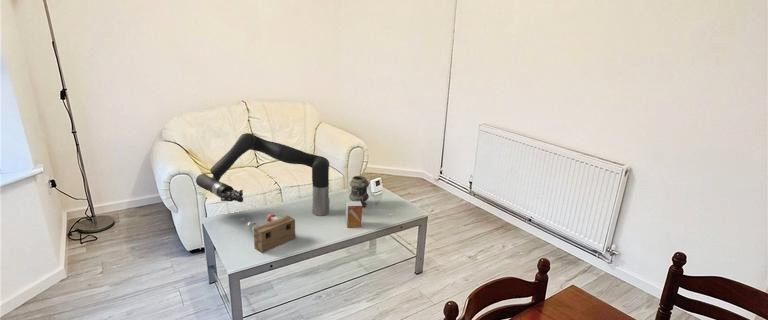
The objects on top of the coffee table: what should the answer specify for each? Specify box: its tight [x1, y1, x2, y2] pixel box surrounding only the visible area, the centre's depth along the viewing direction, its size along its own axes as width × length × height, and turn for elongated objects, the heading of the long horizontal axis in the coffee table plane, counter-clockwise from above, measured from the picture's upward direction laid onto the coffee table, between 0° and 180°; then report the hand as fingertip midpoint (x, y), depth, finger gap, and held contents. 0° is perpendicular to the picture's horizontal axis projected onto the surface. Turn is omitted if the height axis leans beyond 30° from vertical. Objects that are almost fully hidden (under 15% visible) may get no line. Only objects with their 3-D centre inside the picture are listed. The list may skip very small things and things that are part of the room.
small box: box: [345, 200, 363, 228], centre depth 230 cm, size 8×6×13 cm
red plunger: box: [266, 213, 287, 227], centre depth 214 cm, size 12×4×4 cm, turn 51°
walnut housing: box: [253, 215, 296, 254], centre depth 207 cm, size 6×20×11 cm, turn 141°
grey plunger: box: [245, 220, 267, 235], centre depth 205 cm, size 12×4×4 cm, turn 51°
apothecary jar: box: [348, 175, 370, 209], centre depth 256 cm, size 12×12×18 cm
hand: (241, 200), depth 208 cm, fingers closed
